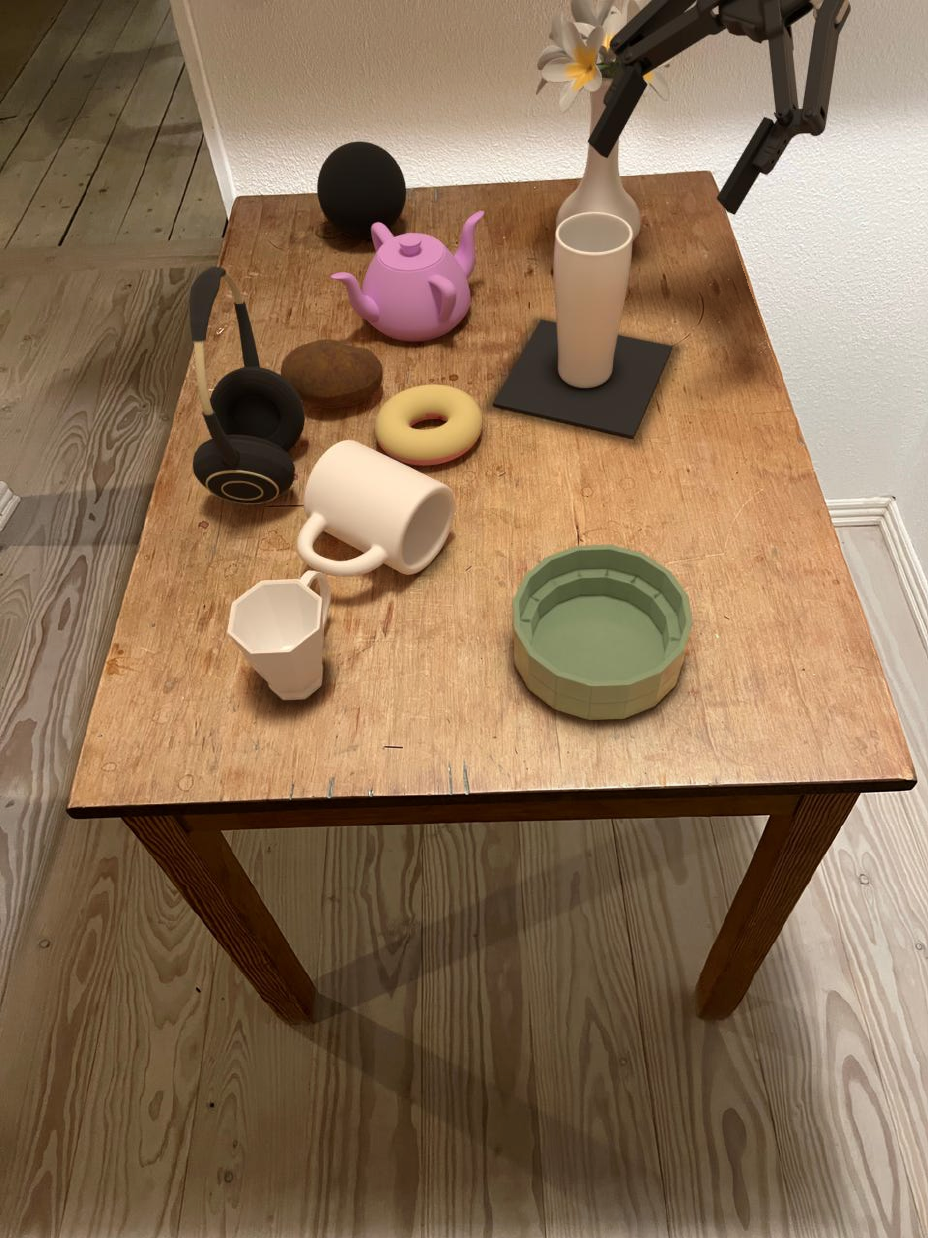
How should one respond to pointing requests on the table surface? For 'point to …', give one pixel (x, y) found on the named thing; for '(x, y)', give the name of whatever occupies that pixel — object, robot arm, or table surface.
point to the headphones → (242, 411)
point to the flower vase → (594, 98)
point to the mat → (595, 408)
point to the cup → (283, 632)
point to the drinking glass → (590, 294)
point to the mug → (374, 511)
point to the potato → (332, 373)
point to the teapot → (414, 283)
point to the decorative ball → (361, 189)
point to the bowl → (600, 631)
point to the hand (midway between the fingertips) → (658, 177)
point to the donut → (432, 442)
